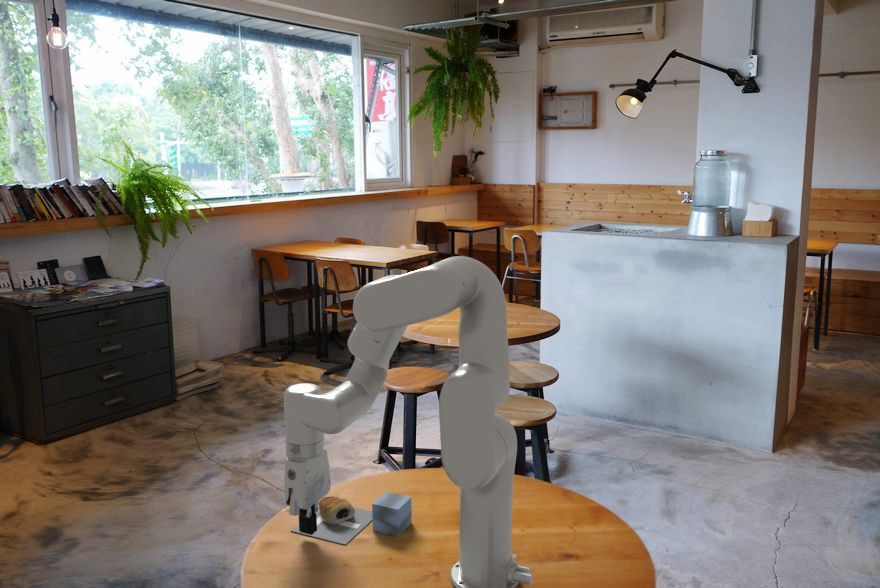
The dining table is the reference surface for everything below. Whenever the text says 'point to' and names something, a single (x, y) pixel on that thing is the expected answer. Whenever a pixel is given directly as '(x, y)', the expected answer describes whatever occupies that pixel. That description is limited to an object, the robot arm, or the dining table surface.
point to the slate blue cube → (391, 513)
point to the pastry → (335, 509)
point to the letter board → (340, 527)
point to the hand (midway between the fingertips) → (308, 531)
